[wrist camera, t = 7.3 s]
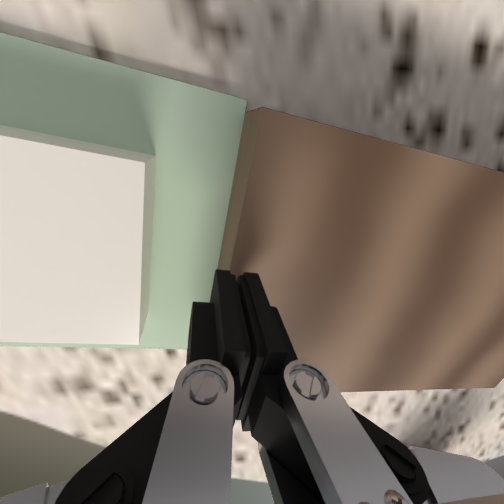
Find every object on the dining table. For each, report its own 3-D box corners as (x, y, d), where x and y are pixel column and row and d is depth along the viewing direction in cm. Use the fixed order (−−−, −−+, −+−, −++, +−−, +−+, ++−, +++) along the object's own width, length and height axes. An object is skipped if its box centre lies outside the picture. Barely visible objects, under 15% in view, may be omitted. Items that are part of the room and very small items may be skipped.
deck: (559, 195, 17) (654, 213, 13) (449, 346, 22) (494, 387, 19) (244, 112, 11) (262, 106, 8) (203, 340, 17) (204, 396, 14)
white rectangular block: (-66, 122, 8) (-6, 123, 10) (-4, 341, 11) (30, 306, 13) (145, 162, 9) (156, 155, 11) (138, 344, 13) (148, 312, 15)
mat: (246, 100, 11) (247, 99, 11) (203, 345, 17) (203, 349, 17) (-107, 4, 8) (-118, -1, 8) (-8, 341, 14) (-12, 345, 14)
